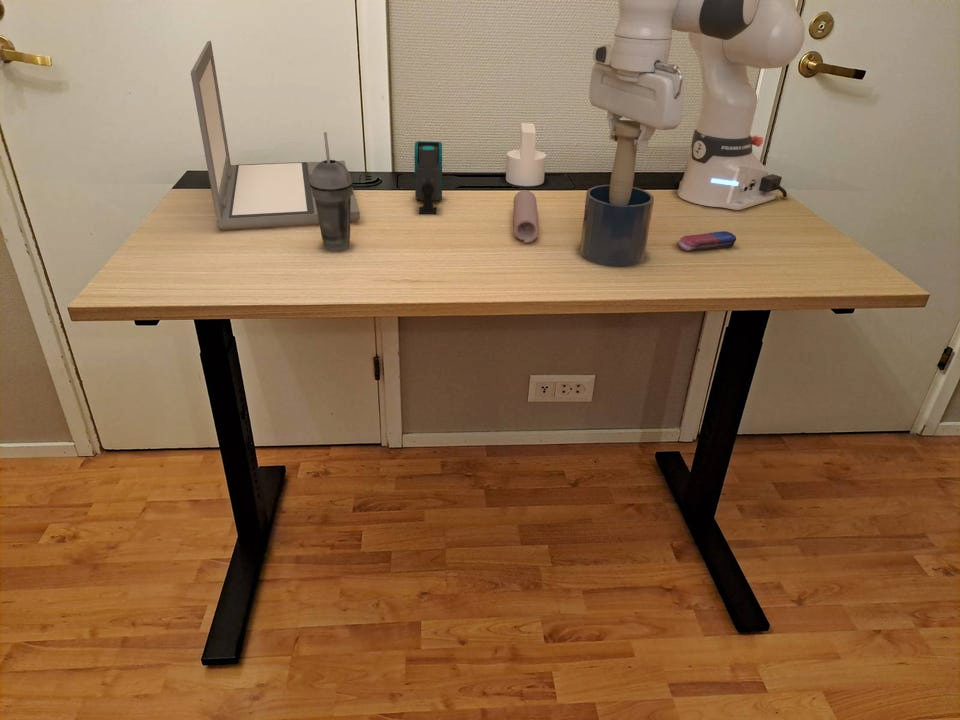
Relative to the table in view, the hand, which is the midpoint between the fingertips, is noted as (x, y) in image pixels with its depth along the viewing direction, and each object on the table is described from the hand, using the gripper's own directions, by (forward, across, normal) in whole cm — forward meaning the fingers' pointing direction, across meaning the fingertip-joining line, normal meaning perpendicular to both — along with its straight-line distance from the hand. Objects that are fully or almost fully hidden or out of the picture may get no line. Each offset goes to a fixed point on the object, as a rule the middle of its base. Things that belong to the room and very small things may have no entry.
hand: (627, 145), depth 117 cm
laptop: (+20, +51, +47) cm, 72 cm away
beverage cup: (+20, +22, +45) cm, 54 cm away
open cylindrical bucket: (+20, 0, 0) cm, 20 cm away
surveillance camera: (+20, +36, +21) cm, 46 cm away
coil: (+20, +18, +8) cm, 28 cm away
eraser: (+20, -4, -19) cm, 28 cm away
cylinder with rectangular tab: (+20, +44, -7) cm, 49 cm away
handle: (+12, 0, 0) cm, 12 cm away
